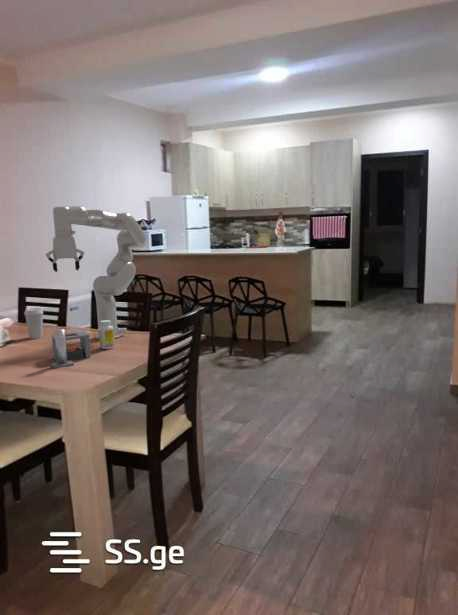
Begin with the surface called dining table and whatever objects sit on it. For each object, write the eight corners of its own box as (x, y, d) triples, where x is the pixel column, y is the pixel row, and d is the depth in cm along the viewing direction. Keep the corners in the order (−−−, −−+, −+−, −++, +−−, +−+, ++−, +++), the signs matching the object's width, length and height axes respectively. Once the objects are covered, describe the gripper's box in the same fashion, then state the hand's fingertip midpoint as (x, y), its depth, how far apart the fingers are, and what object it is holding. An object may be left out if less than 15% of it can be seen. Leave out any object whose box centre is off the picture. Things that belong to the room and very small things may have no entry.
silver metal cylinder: (66, 361, 211) (63, 328, 208) (68, 363, 207) (65, 330, 205) (56, 362, 209) (53, 329, 206) (58, 364, 205) (55, 331, 203)
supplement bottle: (117, 346, 237) (115, 319, 235) (109, 349, 231) (107, 322, 229) (105, 345, 240) (103, 319, 238) (97, 349, 233) (95, 322, 231)
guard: (85, 353, 227) (84, 331, 225) (90, 357, 219) (89, 334, 217) (53, 357, 220) (51, 335, 218) (57, 362, 212) (55, 339, 211)
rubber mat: (70, 361, 213) (70, 359, 212) (74, 365, 207) (73, 363, 207) (51, 364, 209) (51, 363, 209) (54, 368, 204) (53, 366, 203)
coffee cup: (49, 336, 265) (47, 308, 262) (34, 340, 257) (31, 311, 254) (38, 334, 270) (35, 307, 267) (22, 338, 262) (19, 310, 260)
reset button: (76, 352, 223) (75, 346, 222) (78, 355, 218) (78, 348, 218) (65, 354, 220) (64, 347, 220) (67, 356, 216) (66, 349, 216)
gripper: (80, 233, 239) (83, 269, 242) (42, 234, 231) (46, 271, 234) (84, 233, 233) (87, 270, 235) (45, 234, 224) (48, 272, 227)
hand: (66, 270), depth 235 cm, fingers open, 9 cm apart
